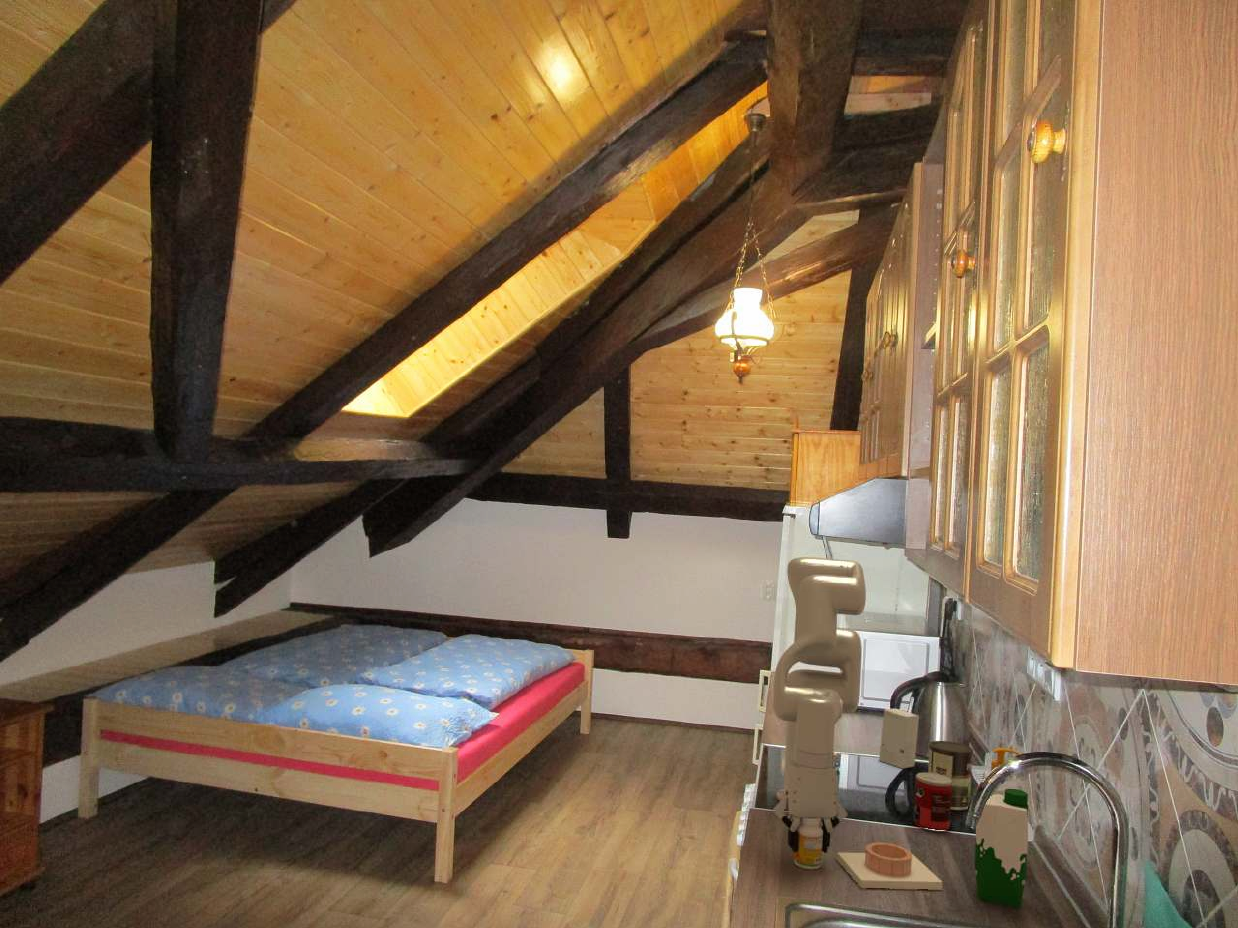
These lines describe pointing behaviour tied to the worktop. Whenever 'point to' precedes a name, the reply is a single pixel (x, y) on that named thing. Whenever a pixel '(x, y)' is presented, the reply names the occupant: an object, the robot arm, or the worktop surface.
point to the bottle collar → (888, 859)
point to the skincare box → (899, 738)
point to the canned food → (932, 801)
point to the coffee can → (953, 769)
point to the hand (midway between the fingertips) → (808, 848)
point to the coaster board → (870, 878)
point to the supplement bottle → (809, 844)
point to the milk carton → (1002, 848)
